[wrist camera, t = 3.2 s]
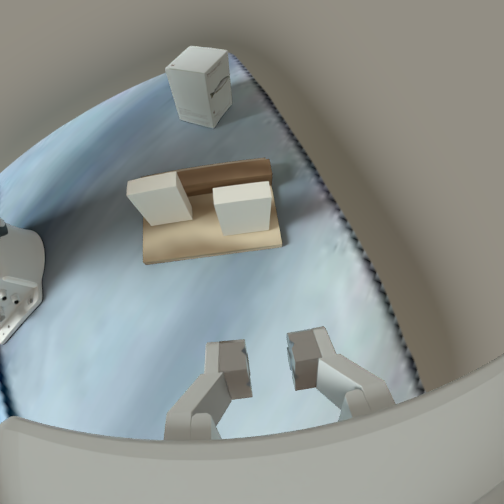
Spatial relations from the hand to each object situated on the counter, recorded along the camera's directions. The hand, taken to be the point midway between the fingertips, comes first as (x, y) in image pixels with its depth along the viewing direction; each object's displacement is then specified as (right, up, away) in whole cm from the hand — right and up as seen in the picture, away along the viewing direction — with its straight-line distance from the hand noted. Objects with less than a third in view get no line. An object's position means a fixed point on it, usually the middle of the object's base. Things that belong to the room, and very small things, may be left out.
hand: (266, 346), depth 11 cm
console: (-7, +9, +30) cm, 32 cm away
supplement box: (-9, +29, +36) cm, 48 cm away
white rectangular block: (-2, +7, +27) cm, 28 cm away
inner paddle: (-12, +9, +28) cm, 32 cm away
